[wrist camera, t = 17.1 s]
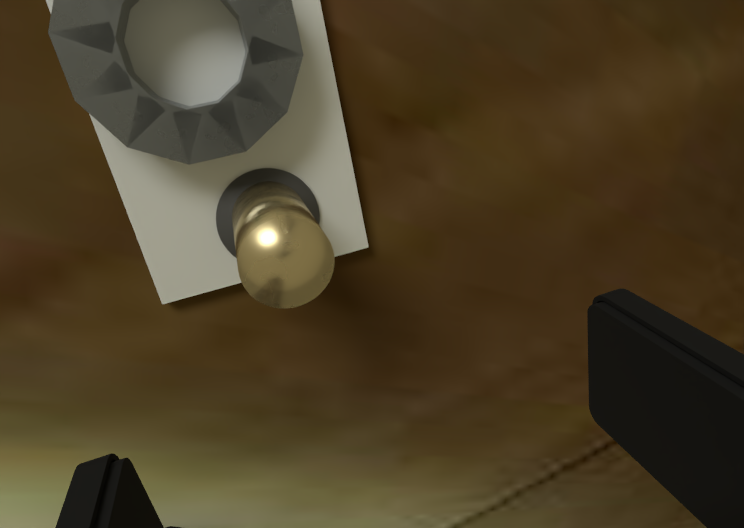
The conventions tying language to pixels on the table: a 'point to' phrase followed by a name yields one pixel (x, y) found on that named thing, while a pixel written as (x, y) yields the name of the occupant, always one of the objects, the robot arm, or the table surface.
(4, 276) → the table surface
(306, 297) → the brass round-ended cylinder
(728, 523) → the robot arm
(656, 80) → the table surface
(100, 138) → the base plate
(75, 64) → the ring
